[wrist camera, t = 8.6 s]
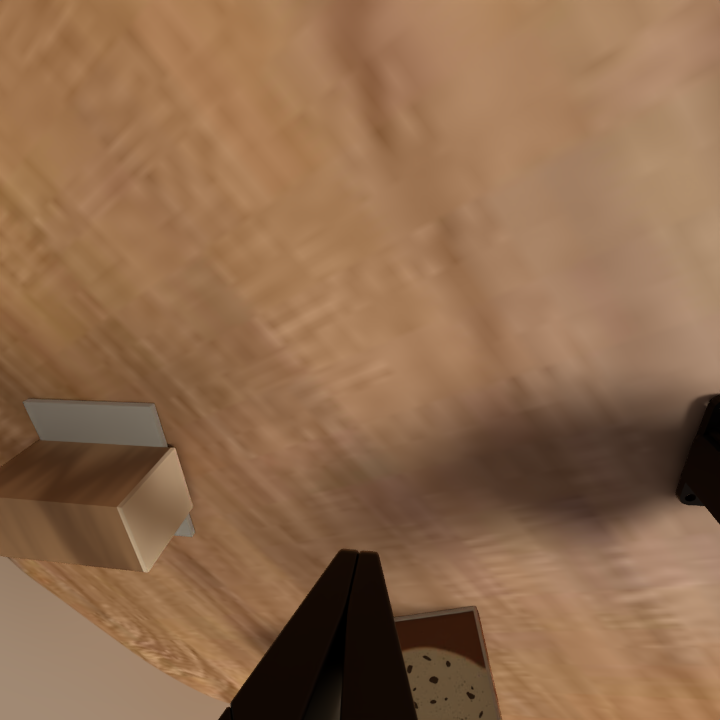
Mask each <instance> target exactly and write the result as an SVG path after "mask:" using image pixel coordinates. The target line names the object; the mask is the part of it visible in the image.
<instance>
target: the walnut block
mask: <svg viewBox="0 0 720 720" xmlns="http://www.w3.org/2000/svg"><path fill="white" fill-rule="evenodd" d="M192 508H193V504H192V501H191V498H190V494H189V491H188V488H187V485H186V481H185V478H184V475H183V472H182V468H181V465H180V462H179V459H178V455H177V452H176V449H175V448H170V447H153V446H135V445H117V444H100V443H82V442H64V441H46V440H38V441H37V442H35V443H34V444H32V445H31V446H30V447H28V448H27V449H25V450H24V451H23V452H21V453H20V454H18V455H17V456H15V457H14V458H13V459H11V460H10V461H8V462H7V463H6V464H4V465H3V466H1V467H0V556H4V557H13V558H22V559H31V560H40V561H49V562H58V563H67V564H76V565H85V566H94V567H103V568H112V569H121V570H130V571H139V572H149V571H150V569H151V568H152V566H153V565H154V563H155V562H156V561H157V559H158V558H159V556H160V555H161V553H162V552H163V550H164V549H165V547H166V546H167V544H168V543H169V542H170V540H171V539H172V537H173V536H174V534H175V533H176V531H177V530H178V528H179V527H180V525H181V524H182V523H183V521H184V520H185V518H186V517H187V515H188V514H189V512H190V511H191V509H192Z"/></svg>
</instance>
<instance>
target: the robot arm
mask: <svg viewBox="0 0 720 720" xmlns="http://www.w3.org/2000/svg"><path fill="white" fill-rule="evenodd" d="M689 494H690V495H689ZM687 495H688V496H687ZM676 496H677V498H678V499H679V500H680V502H681V503H683V504H686V505H697V506H705V507H706V508H707V509H708V511H709V512H710V513H711V514H712V516H713V517H714V518H715V519H716V520H717V522H718V523H719V524H720V396H717V397H715V398H713V399H712V400H711V401H710V402H709V404H708V406H707V409H706V412H705V414H704V417H703V420H702V423H701V425H700V428H699V431H698V433H697V436H696V438H695V439H694V442H693V444H692V447H691V450H690V452H689V455H688V458H687V460H686V463H685V466H684V469H683V471H682V474H681V479H680V482H679V484H678V487H677V490H676ZM230 705H231V708H230V707H227V708H226V709H225V711H224V712H223V714H222V715H221V716H220V718H219V719H218V720H418V717H417V713H416V708H415V704H414V700H413V696H412V692H411V688H410V683H409V679H408V675H407V671H406V667H405V662H404V658H403V654H402V650H401V646H400V642H399V637H398V633H397V629H396V625H395V621H394V616H393V612H392V608H391V604H390V600H389V596H388V591H387V587H386V583H385V579H384V575H383V570H382V566H381V562H380V558H379V555H378V553H377V552H373V551H361V552H360V553H359V552H358V551H357V550H351V549H341V550H340V551H339V552H338V553H337V554H336V556H335V557H334V559H333V560H332V561H331V563H330V564H329V566H328V567H327V568H326V570H325V571H324V573H323V574H322V575H321V577H320V578H319V580H318V581H317V582H316V584H315V585H314V587H313V588H312V589H311V591H310V592H309V594H308V595H307V596H306V598H305V599H304V601H303V602H302V603H301V605H300V606H299V608H298V609H297V610H296V612H295V613H294V615H293V616H292V617H291V619H290V620H289V622H288V623H287V624H286V626H285V627H284V629H283V630H282V631H281V633H280V634H279V636H278V637H277V638H276V640H275V641H274V643H273V644H272V645H271V647H270V648H269V650H268V651H267V652H266V654H265V655H264V657H263V658H262V659H261V661H260V662H259V664H258V665H257V666H256V668H255V669H254V671H253V672H252V673H251V675H250V676H249V677H248V679H247V680H246V682H245V683H244V684H243V686H242V687H241V689H240V690H239V691H238V693H237V694H236V696H235V697H234V698H233V700H232V701H231V704H230Z"/></svg>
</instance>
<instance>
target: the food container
mask: <svg viewBox="0 0 720 720" xmlns="http://www.w3.org/2000/svg"><path fill="white" fill-rule="evenodd" d="M394 621H395V625H396V629H397V633H398V637H399V642H400V646H401V650H402V654H403V658H404V662H405V667H406V671H407V675H408V679H409V683H410V688H411V692H412V696H413V700H414V704H415V708H416V713H417V717H418V720H502V717H501V712H500V708H499V703H498V698H497V694H496V689H495V685H494V680H493V676H492V671H491V667H490V662H489V658H488V653H487V648H486V644H485V639H484V635H483V630H482V626H481V621H480V617H479V613H478V610H477V608H476V606H472V607H465V608H458V609H451V610H444V611H437V612H430V613H423V614H415V615H408V616H401V617H394Z"/></svg>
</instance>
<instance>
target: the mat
mask: <svg viewBox="0 0 720 720" xmlns="http://www.w3.org/2000/svg"><path fill="white" fill-rule="evenodd" d="M23 404H24V406H25V408H26V410H27V412H28V414H29V417H30V419H31V421H32V423H33V425H34V427H35V429H36V431H37V433H38V435H39V437H40V439H41V440H46V441H64V442H82V443H100V444H117V445H135V446H153V447H168V445H167V442H166V439H165V436H164V433H163V430H162V427H161V423H160V420H159V417H158V414H157V411H156V408H155V404H154V403H131V402H104V401H77V400H50V399H27V400H25V401H23ZM194 533H195V531H194V527H193V524H192V521H191V518H190V515H189V514H188V515H187V517H186V518H185V520H184V521H183V523H182V524H181V525H180V527H179V528H178V530H177V531H176V533H175V534H174V535H176V536H187V537H193V535H194Z"/></svg>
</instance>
